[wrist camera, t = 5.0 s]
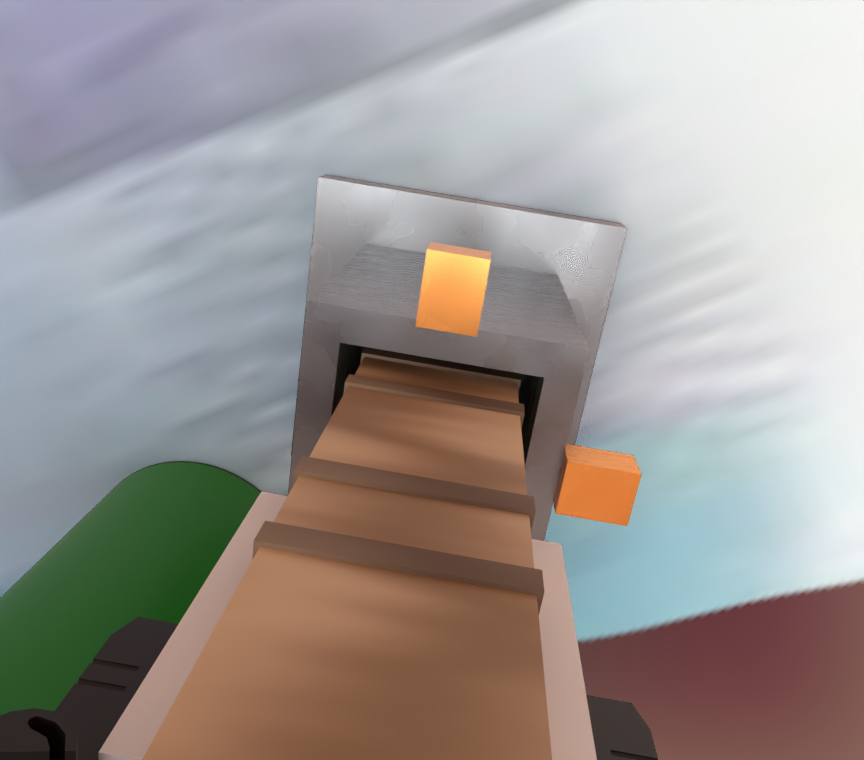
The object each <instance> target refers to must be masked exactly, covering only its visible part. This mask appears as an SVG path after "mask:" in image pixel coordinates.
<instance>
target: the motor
mask: <svg viewBox="0 0 864 760" xmlns="http://www.w3.org/2000/svg"><path fill="white" fill-rule="evenodd" d="M259 495H260V492H259V491H258V490H257V489H255V488H254V487H253V486H251V485H250V484H248V483H247V482H245V481H244V480H242V479H240V478H239V477H237V476H235V475H233V474H231V473H228V472H226V471H224V470H221V469H218V468H215V467H212V466H208V465H204V464H199V463H191V462H169V463H161V464H156V465H153V466H149V467H146V468H143V469H141V470H139V471H137V472H135V473H133V474H131V475H130V476H128V477H127V478H125V479H124V480H123V481H121V482H120V483H119V484H118V485H117V486H116V487H115V488H114V489H113V490H112V491H111V492H110V493H109V494H108V495H107V496H106V497H104V498H103V499H102V500H101V501H100V502H99V503H98V504H97V505H96V506H95V507H94V508H93V509H92V510H91V511H90V512H89V513H88V514H87V515H86V516H85V517H84V518H83V519H82V520H81V521H80V522H79V523H77V524H76V525H75V526H74V527H73V528H72V529H71V530H70V531H69V532H68V533H67V534H66V535H65V536H64V537H63V538H62V539H61V540H60V541H59V542H58V543H57V544H56V545H55V546H54V547H53V548H52V549H50V550H49V551H48V552H47V553H46V554H45V555H44V556H43V557H42V558H41V559H40V560H39V561H38V562H37V563H36V564H35V565H34V566H33V567H32V568H31V569H30V570H29V571H28V572H27V573H26V574H24V575H23V576H22V577H21V578H20V579H19V580H18V581H17V582H16V583H15V584H14V585H13V586H12V587H11V588H10V589H9V590H8V591H7V592H6V593H5V594H4V595H3V596H2V597H1V598H0V715H3V714H6V713H8V712H11V711H17V710H25V709H32V708H37V709H44V710H50V711H55V710H56V708H57V707H58V705H59V704H60V703H61V701H62V700H63V699H64V697H65V696H66V695H67V693H68V692H69V691H70V689H71V688H72V687H73V685H74V684H75V683H78V680H79V677H80V676H81V675H82V673H83V672H84V671H85V669H86V668H87V667H88V665H89V664H90V663H92V662H93V659H94V657H95V656H96V654H97V653H98V652H99V650H100V649H101V648H102V646H103V645H104V644H105V642H106V641H107V640H108V638H109V637H110V636H111V635H112V634H113V633H115V632H116V631H118V630H119V629H121V628H122V627H124V626H125V625H127V624H128V623H130V622H131V621H133V620H134V619H136V618H137V617H143V618H149V619H155V620H160V621H166V622H171V623H177V624H179V623H180V621H181V619H182V618H183V616H184V615H185V613H186V611H187V610H188V608H189V607H190V605H191V603H192V602H193V600H194V599H195V597H196V595H197V594H198V592H199V591H200V589H201V587H202V586H203V584H204V583H205V581H206V579H207V578H208V576H209V575H210V573H211V571H212V570H213V568H214V567H215V565H216V563H217V562H218V560H219V559H220V557H221V555H222V554H223V552H224V551H225V549H226V547H227V546H228V544H229V543H230V541H231V539H232V538H233V536H234V535H235V533H236V531H237V530H238V528H239V527H240V525H241V523H242V522H243V520H244V519H245V517H246V515H247V514H248V512H249V511H250V509H251V507H252V506H253V504H254V503H255V501H256V499H257V498H258V496H259Z"/></svg>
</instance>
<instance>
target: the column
mask: <svg viewBox="0 0 864 760" xmlns="http://www.w3.org/2000/svg"><path fill="white" fill-rule="evenodd" d="M520 383H521V374H520V373H515V372H509V371H503V370H497V369H491V368H485V367H480V366H474V365H468V364H462V363H456V362H450V361H445V360H439V359H433V358H427V357H421V356H415V355H410V354H404V353H398V352H392V351H386V350H380V349H375V348H369V347H365V348H364V349H363V351H362V354H361V362H360V366H359V368H358V370H357V371H356V373H355V375H351V374H349V376H348V377H347V379H346V381H345V385H344V394H343V397H342V399H341V400H340V402H339V404H338V406H337V408H336V409H335V411H334V413H333V415H332V417H331V418H330V420H329V422H328V424H327V426H326V427H325V429H324V431H323V433H322V435H321V437H320V438H319V440H318V442H317V444H316V446H315V447H314V449H313V451H312V453H311V455H310V456H309V457H306V456H302V457H301V459H300V461H299V462H298V464H297V466H296V468H295V470H294V480H293V487H292V489H291V491H290V493H289V494H288V496H287V498H286V500H285V502H284V504H283V505H282V507H281V509H280V511H279V513H278V514H277V516H276V518H275V520H274V522H270V521H265V522H264V523H263V525H262V527H261V529H260V530H259V532H258V534H257V536H256V537H255V539H254V544H253V556H252V561H251V563H250V565H249V567H248V569H247V570H246V572H245V574H244V576H243V578H242V580H241V581H240V583H239V585H238V587H237V589H236V590H235V592H234V594H233V596H232V598H231V599H230V601H229V603H228V605H227V607H226V608H225V610H224V612H223V614H222V616H221V618H220V619H219V621H218V623H217V625H216V627H215V628H214V630H213V632H212V634H211V636H210V637H209V639H208V641H207V643H206V645H205V646H204V648H203V650H202V652H201V654H200V656H199V657H198V659H197V661H196V663H195V665H194V666H193V668H192V670H191V672H190V674H189V675H188V677H187V679H186V681H185V683H184V684H183V686H182V688H181V690H180V692H179V694H178V695H177V697H176V699H175V701H174V703H173V704H172V706H171V708H170V710H169V712H168V713H167V715H166V717H165V719H164V721H163V722H162V724H161V726H160V728H159V730H158V732H157V733H156V735H155V737H154V739H153V741H152V742H151V744H150V746H149V748H148V750H147V751H146V753H145V755H144V757H143V759H142V760H552V753H551V742H550V732H549V721H548V710H547V699H546V689H545V678H544V667H543V656H542V646H541V635H540V624H539V613H540V608H541V604H542V600H543V596H544V582H543V573H542V570H540V569H535V568H534V560H533V549H532V538H531V530H532V526H533V521H534V517H535V513H536V510H535V501H534V496H529V495H527V485H526V474H525V463H524V453H523V442H522V431H521V428H522V423H523V419H524V414H525V410H524V404H520V403H519V399H518V393H519V388H520Z"/></svg>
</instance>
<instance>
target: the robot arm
mask: <svg viewBox="0 0 864 760" xmlns="http://www.w3.org/2000/svg"><path fill="white" fill-rule="evenodd" d="M286 498H287V496H285V495H279V494H273V493H268V492H262V491H261V493H260V495H259V496H258V498H257V499H256V501H255V503H254V504H253V506H252V507H251V509H250V511H249V512H248V514H247V515H246V517H245V519H244V520H243V522H242V523H241V525H240V527H239V528H238V530H237V531H236V533H235V535H234V536H233V538H232V539H231V541H230V543H229V544H228V546H227V547H226V549H225V551H224V552H223V554H222V555H221V557H220V559H219V560H218V562H217V563H216V565H215V567H214V568H213V570H212V571H211V573H210V575H209V576H208V578H207V579H206V581H205V583H204V584H203V586H202V587H201V589H200V591H199V592H198V594H197V595H196V597H195V599H194V600H193V602H192V603H191V605H190V607H189V608H188V610H187V611H186V613H185V615H184V616H183V618H182V619H181V621H180V623H179V624H177V623H171V622H166V621H160V620H155V619H149V618H143V617H137V618H136V619H134V620H133V621H131V622H130V623H128V624H127V625H125V626H124V627H122V628H121V629H119V630H118V631H116V632H115V633H113V634H112V635H111V636H110V637H109V638H108V640H107V641H106V642H105V644H104V645H103V646H102V648H101V649H100V650H99V652H98V653H97V654H96V656H95V657H94V659H93V662H92V663H90V664H89V665H88V667H87V668H86V669H85V671H84V672H83V673H82V675H81V676H80V677H79V680H78V683H75V684H74V685H73V687H72V688H71V689H70V691H69V692H68V693H67V695H66V696H65V697H64V699H63V700H62V701H61V703H60V704H59V705H58V707H57V708H56V710H55V711H50V710H44V709H37V708H32V709H25V710H17V711H11V712H8V713H6V714H3V715H0V760H142V759H143V757H144V755H145V753H146V751H147V750H148V748H149V746H150V744H151V742H152V741H153V739H154V737H155V735H156V733H157V732H158V730H159V728H160V726H161V724H162V722H163V721H164V719H165V717H166V715H167V713H168V712H169V710H170V708H171V706H172V704H173V703H174V701H175V699H176V697H177V695H178V694H179V692H180V690H181V688H182V686H183V684H184V683H185V681H186V679H187V677H188V675H189V674H190V672H191V670H192V668H193V666H194V665H195V663H196V661H197V659H198V657H199V656H200V654H201V652H202V650H203V648H204V646H205V645H206V643H207V641H208V639H209V637H210V636H211V634H212V632H213V630H214V628H215V627H216V625H217V623H218V621H219V619H220V618H221V616H222V614H223V612H224V610H225V608H226V607H227V605H228V603H229V601H230V599H231V598H232V596H233V594H234V592H235V590H236V589H237V587H238V585H239V583H240V581H241V580H242V578H243V576H244V574H245V572H246V570H247V569H248V567H249V565H250V563H251V561H252V556H253V544H254V539H255V537H256V536H257V534H258V532H259V530H260V529H261V527H262V525H263V523H264V522H265V521H270V522H274V520H275V518H276V516H277V514H278V513H279V511H280V509H281V507H282V505H283V504H284V502H285V500H286ZM532 549H533V560H534V568H535V569H540V570H542V573H543V582H544V596H543V600H542V604H541V608H540V613H539V624H540V635H541V646H542V656H543V667H544V678H545V689H546V699H547V710H548V721H549V732H550V742H551V753H552V760H658V757H657V753H656V749H655V746H654V742H653V739H652V734H651V731H650V729H649V727H648V726H647V724H646V723H645V722H644V720H643V719H642V717H641V716H640V714H639V713H638V712H637V710H636V709H635V707H634V706H633V705H632V703H628V702H623V701H617V700H611V699H606V698H601V697H595V696H589V695H586V691H585V685H584V679H583V674H582V667H581V661H580V654H579V648H578V642H577V636H576V630H575V624H574V618H573V612H572V606H571V600H570V594H569V588H568V582H567V576H566V570H565V564H564V558H563V552H562V546H561V544H558V543H553V542H547V541H541V540H536V539H532Z"/></svg>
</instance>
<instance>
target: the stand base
mask: <svg viewBox="0 0 864 760" xmlns="http://www.w3.org/2000/svg"><path fill="white" fill-rule="evenodd" d="M626 231H627V228H626V227H624V226H623V225H622V224H620V223H614V222H608V221H602V220H596V219H590V218H584V217H578V216H572V215H566V214H560V213H554V212H548V211H542V210H536V209H530V208H524V207H518V206H512V205H506V204H500V203H494V202H488V201H482V200H476V199H470V198H464V197H458V196H452V195H446V194H440V193H434V192H428V191H422V190H416V189H409V188H403V187H397V186H391V185H385V184H379V183H373V182H367V181H361V180H355V179H349V178H343V177H337V176H331V175H324V176H321V177H318V186H317V196H316V206H315V216H314V227H313V237H312V247H311V257H310V268H309V278H308V288H307V298H306V309H305V319H304V329H303V339H302V350H301V360H300V370H299V380H298V391H297V401H296V411H295V421H294V432H293V442H292V452H291V456H292V458H291V469H290V479H289V489H288V494H289V493H290V491H291V489H292V487H293V480H294V470H295V468H296V466H297V464H298V462H299V461H300V459H301V457H302V456H306V457H309V456H310V455H311V453H312V451H313V449H314V447H315V446H316V444H317V442H318V440H319V438H320V437H321V435H322V433H323V431H324V429H325V427H326V426H327V424H328V422H329V420H330V418H331V417H332V415H333V413H334V411H335V409H336V408H337V406H338V404H339V402H340V400H341V399H342V397H343V394H344V385H345V381H346V379H347V377H348V376H349V374H351V375H355V373H356V371H357V370H358V368H359V366H360V362H361V354H362V351H363V349H364V348H365V347H369V348H375V349H380V350H386V351H392V352H398V353H404V354H410V355H415V356H421V357H427V358H433V359H439V360H445V361H450V362H456V363H462V364H468V365H474V366H480V367H485V368H491V369H497V370H503V371H509V372H515V373H520V374H521V383H520V388H519V393H518V399H519V403H520V404H524V410H525V414H524V419H523V423H522V428H521V431H522V442H523V453H524V463H525V474H526V485H527V495H529V496H534V501H535V510H536V513H535V517H534V521H533V526H532V530H531V538H532V539H536V540H541V541H544V538H545V534H546V530H547V526H548V522H549V517H550V513H551V509H552V505H553V502H554V508H555V513H556V514H562V515H568V516H573V517H579V518H585V519H590V520H596V521H602V522H608V523H613V524H619V525H625V526H627V525H628V521H629V518H630V514H631V511H632V507H633V503H634V500H635V496H636V493H637V489H638V486H639V482H640V478H641V475H642V474H641V472H640V470H639V467H638V465H637V462H636V460H635V458H634V455H628V454H622V453H617V452H611V451H605V450H599V449H593V448H588V447H582V446H576V445H575V442H576V438H577V434H578V429H579V425H580V421H581V417H582V413H583V409H584V405H585V400H586V396H587V392H588V388H589V384H590V380H591V376H592V372H593V367H594V363H595V359H596V355H597V351H598V347H599V343H600V338H601V334H602V330H603V326H604V322H605V318H606V314H607V310H608V305H609V301H610V297H611V293H612V289H613V285H614V281H615V276H616V272H617V268H618V264H619V260H620V256H621V252H622V248H623V243H624V239H625V235H626Z"/></svg>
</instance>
